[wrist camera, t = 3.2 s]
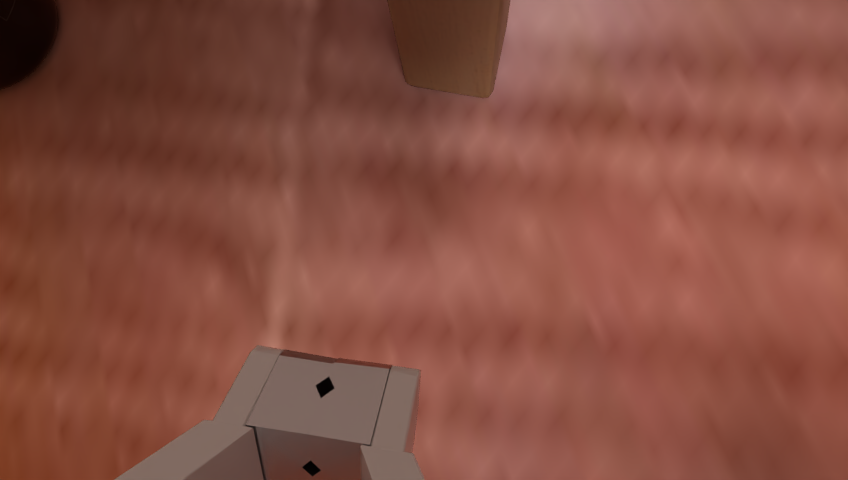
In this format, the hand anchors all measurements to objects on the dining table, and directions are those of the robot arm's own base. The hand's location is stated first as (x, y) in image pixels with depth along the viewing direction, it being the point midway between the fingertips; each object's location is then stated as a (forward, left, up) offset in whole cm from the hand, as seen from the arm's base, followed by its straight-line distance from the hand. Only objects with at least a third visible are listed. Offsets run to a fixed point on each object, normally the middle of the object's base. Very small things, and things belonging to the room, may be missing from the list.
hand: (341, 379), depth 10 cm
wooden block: (-6, -12, -13) cm, 19 cm away
